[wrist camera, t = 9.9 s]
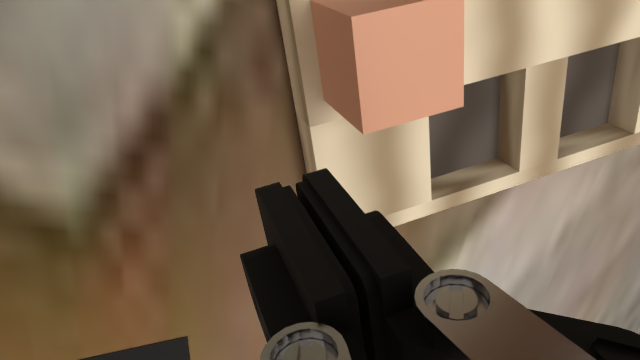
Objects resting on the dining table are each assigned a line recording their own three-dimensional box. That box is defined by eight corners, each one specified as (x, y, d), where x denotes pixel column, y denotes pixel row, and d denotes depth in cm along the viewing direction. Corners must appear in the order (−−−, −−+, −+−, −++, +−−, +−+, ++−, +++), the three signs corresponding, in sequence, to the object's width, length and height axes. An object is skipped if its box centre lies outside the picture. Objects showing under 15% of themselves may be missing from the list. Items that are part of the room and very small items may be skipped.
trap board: (315, 227, 32) (341, 267, 29) (269, -40, 24) (296, -33, 21) (685, 107, 39) (745, 127, 36) (742, -130, 31) (826, -137, 28)
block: (324, 100, 26) (363, 134, 22) (310, 0, 23) (351, 17, 19) (410, 77, 27) (463, 106, 23) (405, -20, 25) (464, -9, 20)
